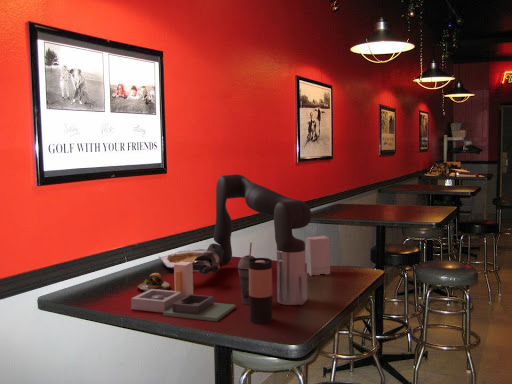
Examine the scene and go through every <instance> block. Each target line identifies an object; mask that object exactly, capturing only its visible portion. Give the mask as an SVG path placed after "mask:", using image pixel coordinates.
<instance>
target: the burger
mask: <svg viewBox="0 0 512 384" xmlns="http://www.w3.org/2000/svg"><path fill="white" fill-rule="evenodd" d="M158 270H159V269H158V268H157V270H156V271H158ZM162 278H163V277H162V275H161V274H160V273H159V272H154V273H151V274H150V275H149V279H147V278H145V279H144V280H143V282H142V283H139V284H138V285H137V286H136V287H137V290H139V289H140V290H141V291H143V292H146V291H148V290H150V289H158V290H169V291H170V290H171V289H172V288H171V284H170V282H169V281H168V282H167V281H164V280H163V279H162Z"/></svg>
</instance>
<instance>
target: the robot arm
mask: <svg viewBox="0 0 512 384" xmlns="http://www.w3.org/2000/svg"><path fill="white" fill-rule="evenodd" d="M215 186H216V188H215V214H216V215H215V225H214V232H213V240H214V242H215V243H210V244H209V246H208V248H207V249H208V250H207V249H206V250H207V251H206V252H204V253H202V254H201V255H199V256H198V257H197V258H196V259H195V261H194V262H192V264H193V272H198V273H199V274H202V275H207V274H211V273H212V272H213V273H214V274H215V273H217V272H219V270H220V264H224V265H226V264H228V263H230V262H231V260H232V257H233V249H232V242H231V241H232V240H231V237H232V232H233V221H232V218H231V216H230V214H229V212H228V209H227V200H229V199H238V198H241V199H242V198H243V199H244V202H245V204H246V206H247V207H248V208H249V209H250V210H253V211H255V212H256V213H259V214H262V215H266V216H273V225H274V239H275V243H276V278H277V279H276V285H277V287H276V288H277V290H276V291H277V295H276V297H277V303H279V304H282V305H284V306H285V305H286V306H298V305H299V306H301V305H304V304H305V303H306V302H307V301H308V273H307V271H306V241H305V240H303V239H300V238H296V237H295V236H294V234H293V230H298V229H303V228H305V227H307V226H308V225H309V224H310V223H311V220H312V211H311V209H310V206H308V204H307V203H306V202H305V201H303V200H300V199H295V198H291V197H288V196H285V195H283V194H281V193H280V192H276V191H275V190H272V189H270V188H268V187H266V186H263V185H260V184H258V183H255V182H253V181H251V180H250V179H249V178H247V177H245V176H244V175H241V174H237V173H236V174H226V175H224V174H223V175H221V176H219V177H218V178H217V181H216V185H215ZM185 262H187V261H185Z"/></svg>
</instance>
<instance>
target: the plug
mask: <svg viewBox="0 0 512 384" xmlns="http://www.w3.org/2000/svg"><path fill="white" fill-rule="evenodd" d="M193 275H194V274H193V264H192V262H182V261H181V262H179V263H176V264H174V269H173V280H174V291H180V292H183V298H184V297H185V296H187V295H189V294H193V295H194V276H193Z"/></svg>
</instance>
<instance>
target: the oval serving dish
mask: <svg viewBox="0 0 512 384" xmlns="http://www.w3.org/2000/svg"><path fill="white" fill-rule="evenodd" d="M207 250H208V248H207V249H203V248H202V249H201V248H198V249H193V250H182V251H181V250H179V251H177V252H176V253H171V254H167V255H163V256H158V258H159V259H160V261H161V263H163V264H164V266H165V267H167V268H170V269H172V270H174V264H176V263H179V262H181V261H182V262H185V261H187V262H194V261H195V259H196V258H197V257H198V256H199V255H201V254H202V253H204V252H206V251H207Z"/></svg>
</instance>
